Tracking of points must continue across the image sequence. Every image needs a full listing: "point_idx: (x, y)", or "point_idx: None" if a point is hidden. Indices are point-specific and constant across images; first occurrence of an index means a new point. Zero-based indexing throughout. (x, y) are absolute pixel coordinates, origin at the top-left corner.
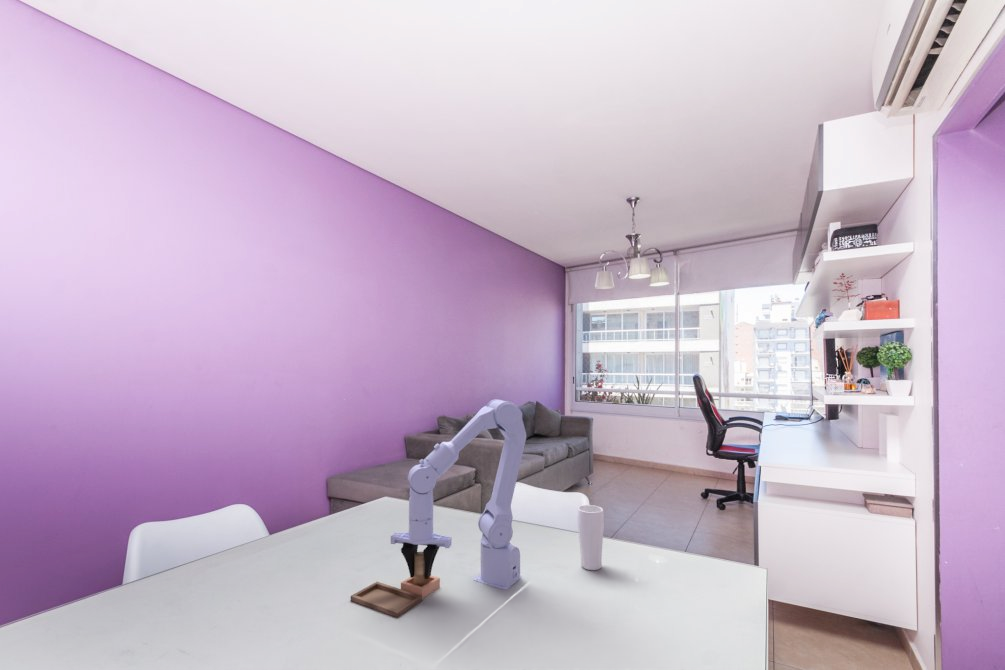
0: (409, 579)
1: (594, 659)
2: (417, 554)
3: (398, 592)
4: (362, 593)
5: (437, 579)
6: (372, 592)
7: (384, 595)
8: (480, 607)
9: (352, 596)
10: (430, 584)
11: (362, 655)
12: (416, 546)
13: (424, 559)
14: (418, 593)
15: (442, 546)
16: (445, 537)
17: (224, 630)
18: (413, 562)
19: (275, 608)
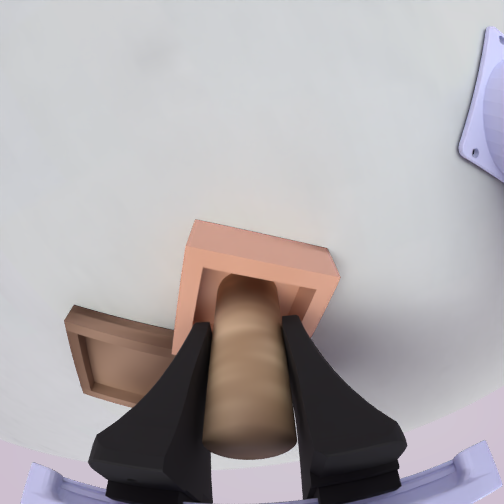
0: (188, 327)
1: None
2: (229, 447)
3: None
4: (88, 372)
5: (332, 292)
6: (97, 350)
7: (146, 359)
8: (470, 309)
9: (90, 395)
10: (311, 334)
11: (256, 462)
12: (182, 457)
13: (299, 452)
14: None
15: (425, 475)
16: (463, 501)
17: (31, 427)
18: (204, 404)
19: (11, 392)
